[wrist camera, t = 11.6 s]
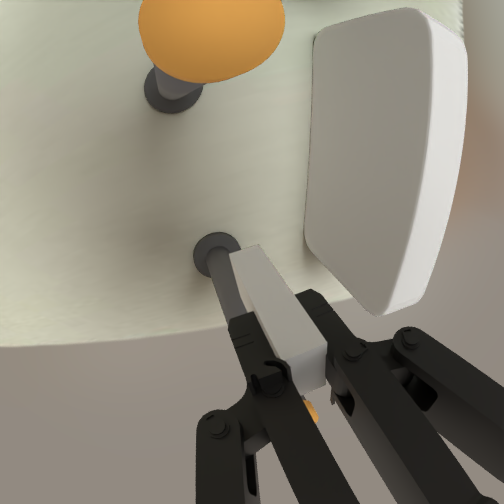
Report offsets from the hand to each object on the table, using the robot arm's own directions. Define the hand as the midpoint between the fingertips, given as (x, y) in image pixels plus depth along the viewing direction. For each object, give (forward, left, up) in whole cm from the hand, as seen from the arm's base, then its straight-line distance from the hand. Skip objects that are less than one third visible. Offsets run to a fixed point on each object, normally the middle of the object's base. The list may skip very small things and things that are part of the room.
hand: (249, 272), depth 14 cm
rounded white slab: (-1, +17, -20) cm, 26 cm away
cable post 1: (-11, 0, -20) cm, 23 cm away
